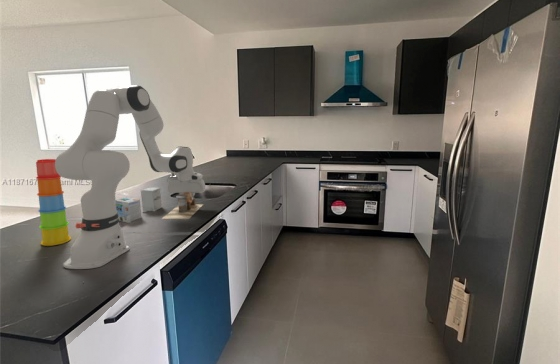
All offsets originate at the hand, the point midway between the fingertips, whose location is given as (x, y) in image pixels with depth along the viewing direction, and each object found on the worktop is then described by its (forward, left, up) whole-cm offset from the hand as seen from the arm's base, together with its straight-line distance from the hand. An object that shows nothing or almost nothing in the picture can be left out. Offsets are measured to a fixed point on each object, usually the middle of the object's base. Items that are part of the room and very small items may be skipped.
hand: (187, 200), depth 168 cm
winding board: (-7, 0, -5) cm, 9 cm away
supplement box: (-3, +19, -6) cm, 20 cm away
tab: (0, 0, -2) cm, 2 cm away
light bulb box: (-18, +24, -6) cm, 31 cm away
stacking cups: (-45, +41, -6) cm, 61 cm away
